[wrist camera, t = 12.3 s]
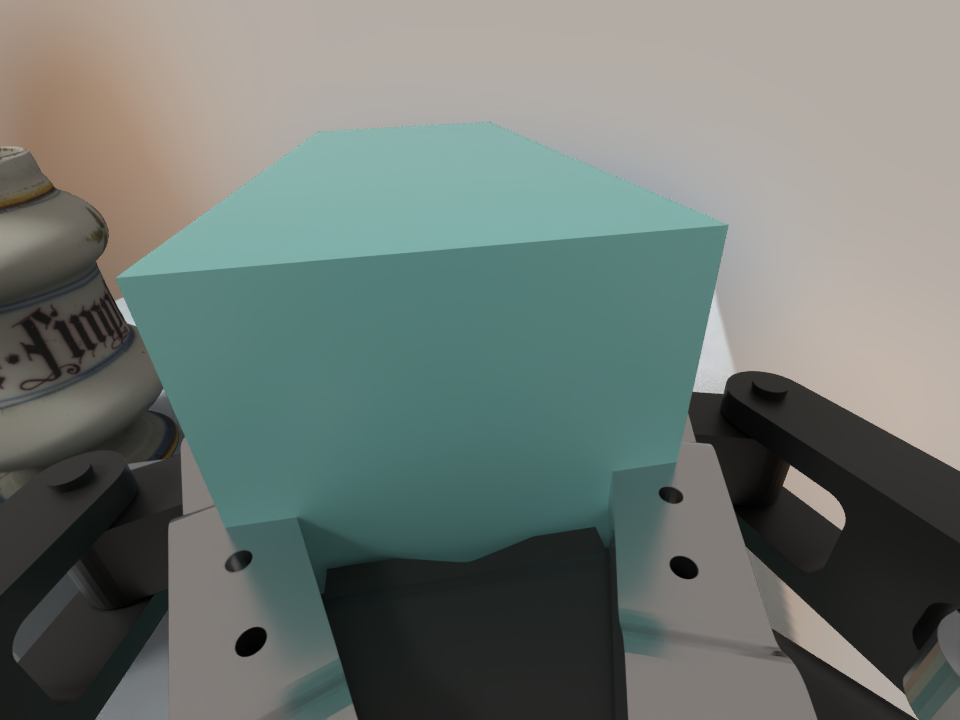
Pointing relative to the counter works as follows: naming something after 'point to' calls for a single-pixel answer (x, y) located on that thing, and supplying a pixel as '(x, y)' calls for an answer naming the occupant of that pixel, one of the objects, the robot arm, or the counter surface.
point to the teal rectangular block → (428, 340)
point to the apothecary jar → (65, 338)
